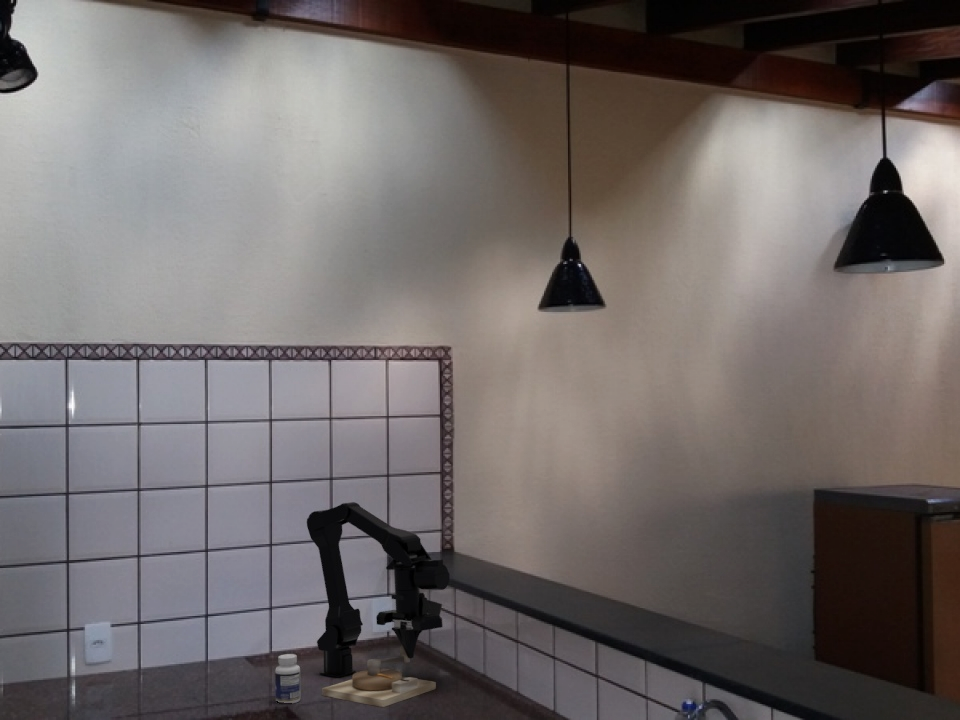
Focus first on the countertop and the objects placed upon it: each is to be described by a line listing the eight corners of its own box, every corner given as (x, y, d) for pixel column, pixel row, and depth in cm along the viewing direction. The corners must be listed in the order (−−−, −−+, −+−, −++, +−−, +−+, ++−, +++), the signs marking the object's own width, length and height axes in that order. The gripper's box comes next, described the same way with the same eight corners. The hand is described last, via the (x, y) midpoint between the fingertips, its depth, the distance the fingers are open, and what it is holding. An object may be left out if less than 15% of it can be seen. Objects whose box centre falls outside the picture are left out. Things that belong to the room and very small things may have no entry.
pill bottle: (276, 698, 234) (276, 653, 234) (301, 697, 234) (301, 652, 235) (274, 705, 228) (273, 659, 229) (299, 704, 229) (298, 658, 229)
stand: (322, 695, 236) (322, 678, 236) (376, 678, 250) (375, 662, 250) (383, 707, 225) (382, 689, 225) (435, 688, 240) (435, 672, 240)
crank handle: (342, 684, 238) (342, 654, 238) (396, 671, 249) (396, 642, 249) (372, 692, 230) (372, 661, 230) (427, 679, 241) (426, 649, 241)
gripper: (459, 587, 243) (463, 656, 241) (412, 583, 257) (415, 648, 255) (420, 593, 236) (423, 664, 234) (373, 588, 250) (376, 656, 248)
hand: (410, 658), depth 243 cm, fingers closed
